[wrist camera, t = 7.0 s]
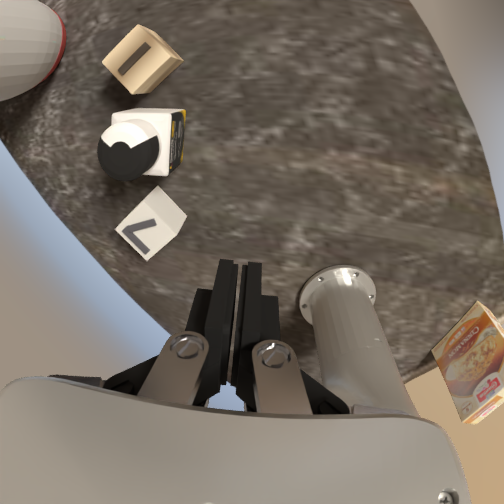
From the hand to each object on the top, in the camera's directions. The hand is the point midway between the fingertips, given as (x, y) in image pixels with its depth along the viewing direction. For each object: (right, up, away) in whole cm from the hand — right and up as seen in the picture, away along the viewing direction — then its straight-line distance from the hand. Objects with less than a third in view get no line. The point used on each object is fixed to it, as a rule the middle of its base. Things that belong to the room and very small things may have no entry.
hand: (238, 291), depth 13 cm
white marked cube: (-13, +7, +30) cm, 33 cm away
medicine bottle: (-12, +17, +25) cm, 32 cm away
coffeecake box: (+45, -15, +40) cm, 62 cm away
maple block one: (-12, +26, +20) cm, 34 cm away
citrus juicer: (-31, +32, +16) cm, 48 cm away
